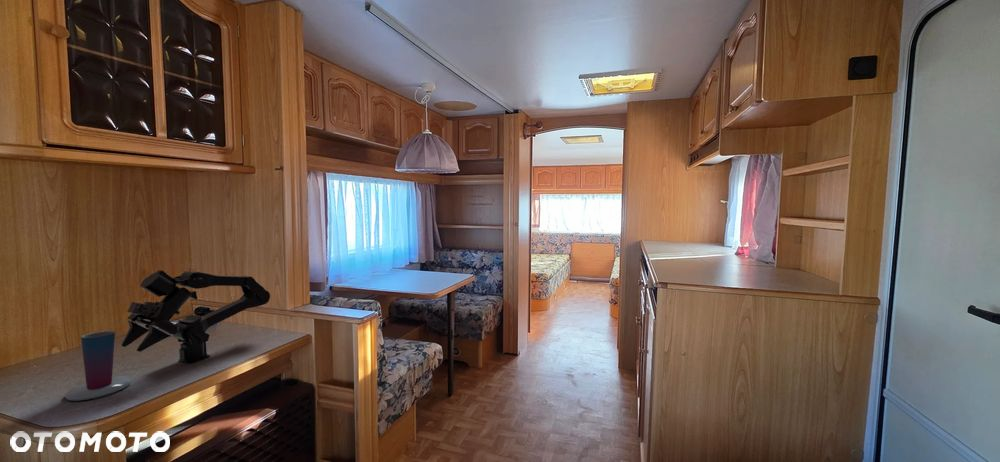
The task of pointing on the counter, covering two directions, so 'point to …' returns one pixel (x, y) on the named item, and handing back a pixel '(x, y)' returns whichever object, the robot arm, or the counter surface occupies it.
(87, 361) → the cup
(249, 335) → the counter surface
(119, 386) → the saucer
